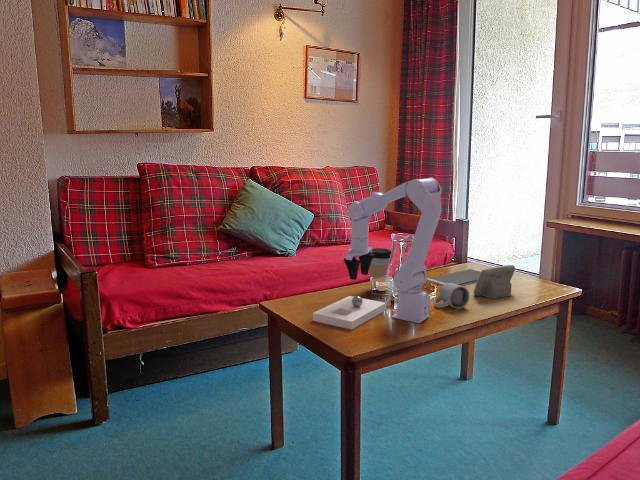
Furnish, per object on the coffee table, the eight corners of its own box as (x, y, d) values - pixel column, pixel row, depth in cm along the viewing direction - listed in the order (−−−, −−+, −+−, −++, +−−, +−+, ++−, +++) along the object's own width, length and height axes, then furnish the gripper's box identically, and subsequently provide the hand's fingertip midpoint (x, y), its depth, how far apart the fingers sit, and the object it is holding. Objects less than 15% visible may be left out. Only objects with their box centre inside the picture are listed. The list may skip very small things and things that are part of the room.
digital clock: (505, 289, 202) (507, 262, 200) (520, 296, 194) (523, 267, 192) (467, 293, 198) (469, 265, 195) (481, 300, 189) (483, 270, 187)
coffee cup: (391, 294, 196) (392, 253, 193) (365, 292, 198) (366, 252, 195) (392, 287, 205) (394, 248, 202) (368, 285, 207) (368, 247, 204)
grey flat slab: (425, 282, 214) (425, 278, 214) (470, 272, 229) (470, 268, 229) (450, 290, 204) (450, 285, 203) (496, 279, 219) (496, 275, 218)
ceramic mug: (455, 300, 188) (456, 279, 187) (469, 307, 181) (470, 285, 179) (428, 304, 185) (429, 282, 183) (441, 311, 177) (442, 289, 176)
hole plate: (385, 310, 178) (386, 302, 177) (351, 329, 160) (352, 321, 159) (349, 302, 185) (349, 295, 185) (313, 320, 168) (313, 312, 167)
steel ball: (362, 302, 170) (356, 310, 171) (366, 300, 173) (360, 308, 174) (354, 294, 171) (348, 302, 172) (358, 292, 174) (352, 300, 176)
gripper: (360, 233, 188) (359, 270, 191) (338, 239, 177) (337, 279, 179) (378, 235, 184) (377, 273, 187) (356, 242, 173) (355, 283, 175)
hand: (358, 276), depth 183 cm, fingers open, 7 cm apart
